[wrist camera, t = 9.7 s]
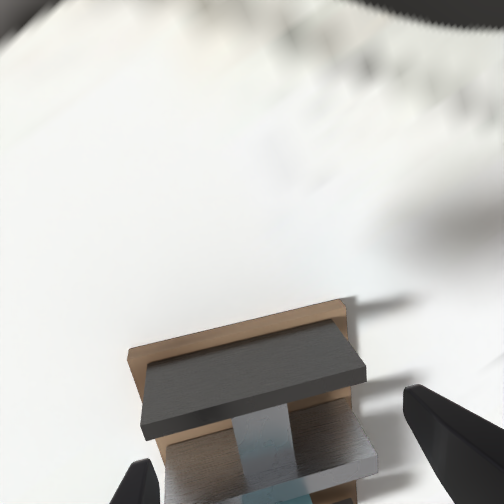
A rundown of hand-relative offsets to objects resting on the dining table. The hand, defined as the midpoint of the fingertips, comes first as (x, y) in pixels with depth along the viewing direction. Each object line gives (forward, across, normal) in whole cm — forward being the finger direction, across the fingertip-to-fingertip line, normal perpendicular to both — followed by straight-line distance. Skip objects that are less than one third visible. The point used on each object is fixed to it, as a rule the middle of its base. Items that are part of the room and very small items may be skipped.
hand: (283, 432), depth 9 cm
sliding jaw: (+11, 0, +9) cm, 14 cm away
